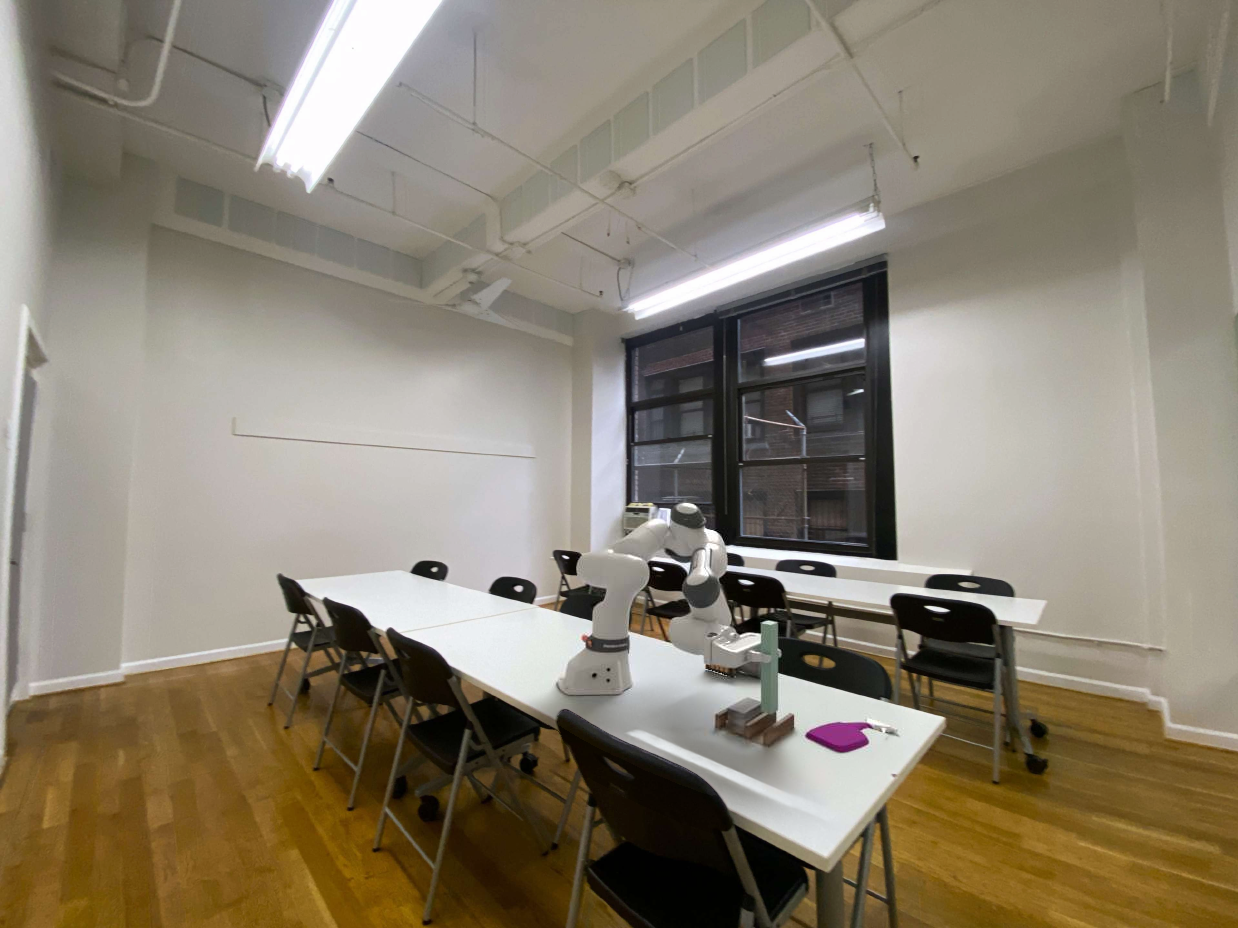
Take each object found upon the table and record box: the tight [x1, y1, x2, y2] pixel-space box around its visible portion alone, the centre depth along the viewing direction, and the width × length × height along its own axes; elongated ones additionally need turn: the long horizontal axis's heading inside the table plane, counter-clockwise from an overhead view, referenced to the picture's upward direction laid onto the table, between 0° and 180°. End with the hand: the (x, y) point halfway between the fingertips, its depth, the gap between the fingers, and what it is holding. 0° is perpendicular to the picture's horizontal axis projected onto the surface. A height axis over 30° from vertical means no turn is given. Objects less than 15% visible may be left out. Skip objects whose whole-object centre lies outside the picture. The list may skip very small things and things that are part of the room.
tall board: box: [760, 620, 779, 714], centre depth 114 cm, size 2×4×20 cm
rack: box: [714, 701, 796, 748], centre depth 116 cm, size 14×14×4 cm
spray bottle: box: [804, 717, 899, 753], centre depth 115 cm, size 3×11×25 cm
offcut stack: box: [725, 697, 764, 735], centre depth 118 cm, size 5×11×4 cm, turn 137°
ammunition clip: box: [704, 664, 737, 678], centre depth 159 cm, size 11×2×12 cm, turn 45°
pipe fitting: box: [736, 661, 761, 679], centre depth 159 cm, size 12×8×10 cm, turn 53°
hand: (775, 656), depth 113 cm, fingers closed on tall board, 3 cm apart
